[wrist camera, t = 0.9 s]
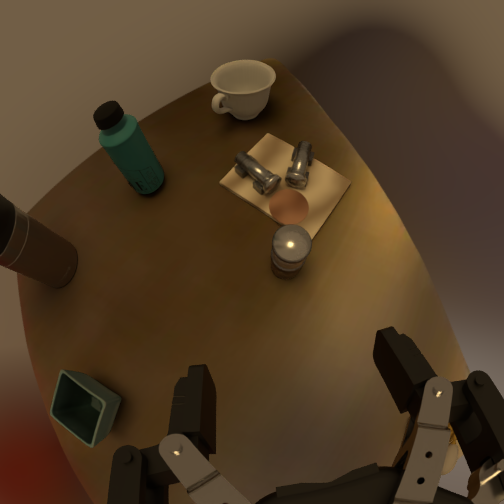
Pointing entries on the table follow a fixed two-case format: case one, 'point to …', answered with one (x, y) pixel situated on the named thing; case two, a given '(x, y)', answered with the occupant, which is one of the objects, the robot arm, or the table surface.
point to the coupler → (289, 250)
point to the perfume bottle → (450, 453)
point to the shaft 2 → (300, 165)
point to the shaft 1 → (256, 173)
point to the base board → (290, 188)
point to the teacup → (242, 88)
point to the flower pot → (84, 406)
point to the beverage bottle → (128, 147)
